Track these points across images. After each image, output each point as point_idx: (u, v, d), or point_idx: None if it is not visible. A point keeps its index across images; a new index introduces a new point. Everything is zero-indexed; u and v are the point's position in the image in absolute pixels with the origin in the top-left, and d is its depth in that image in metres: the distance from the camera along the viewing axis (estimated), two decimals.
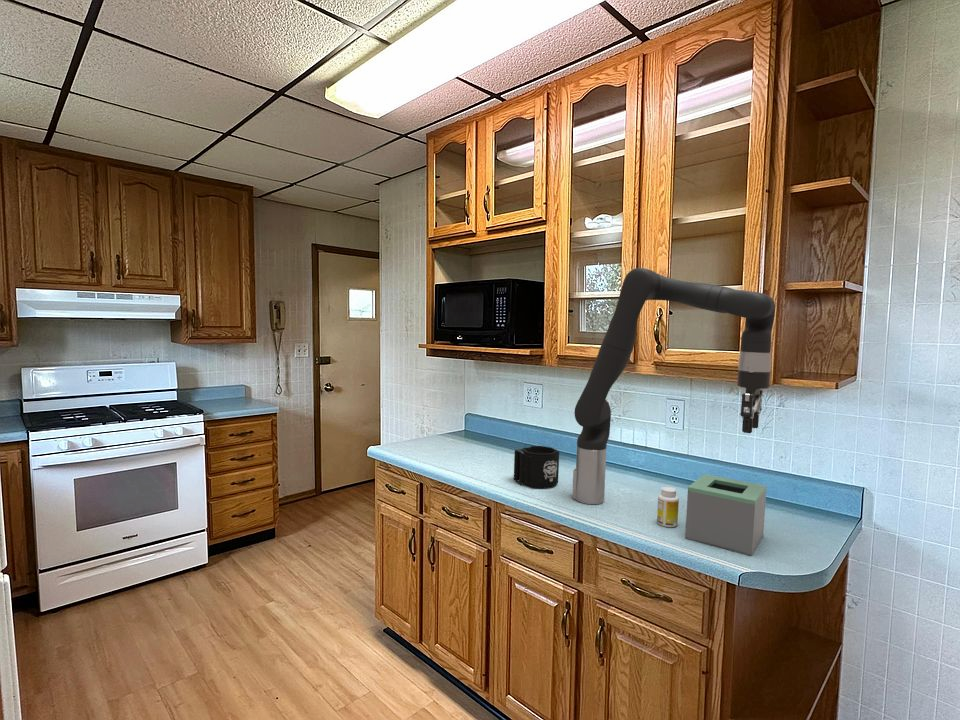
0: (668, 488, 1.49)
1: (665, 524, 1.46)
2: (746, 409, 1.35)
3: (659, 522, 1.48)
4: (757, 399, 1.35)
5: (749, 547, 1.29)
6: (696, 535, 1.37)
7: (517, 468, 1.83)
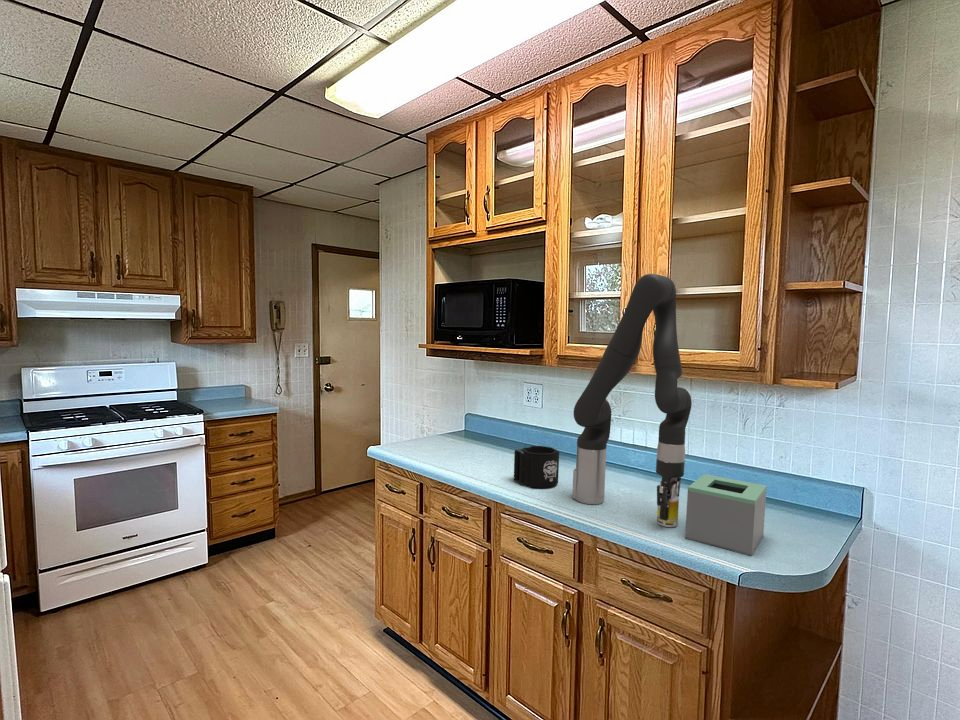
0: None
1: (665, 524, 1.46)
2: None
3: (659, 522, 1.48)
4: (672, 487, 1.45)
5: (749, 547, 1.29)
6: (696, 535, 1.37)
7: (517, 468, 1.83)
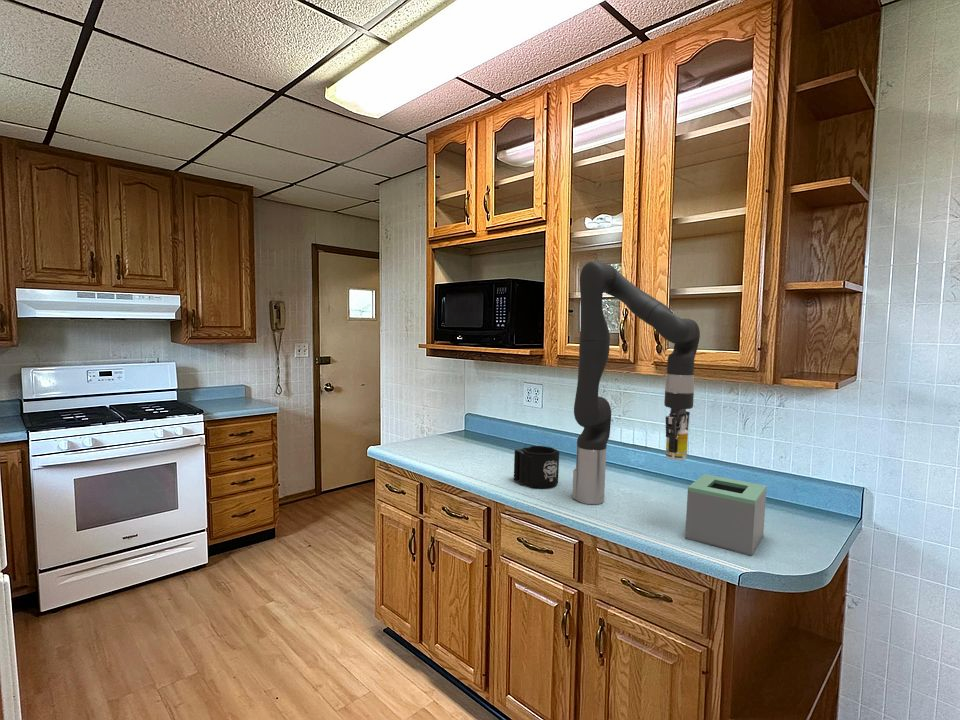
0: None
1: (674, 457, 1.44)
2: (672, 430, 1.44)
3: (668, 456, 1.45)
4: (681, 419, 1.43)
5: (749, 547, 1.29)
6: (696, 535, 1.37)
7: (517, 468, 1.83)
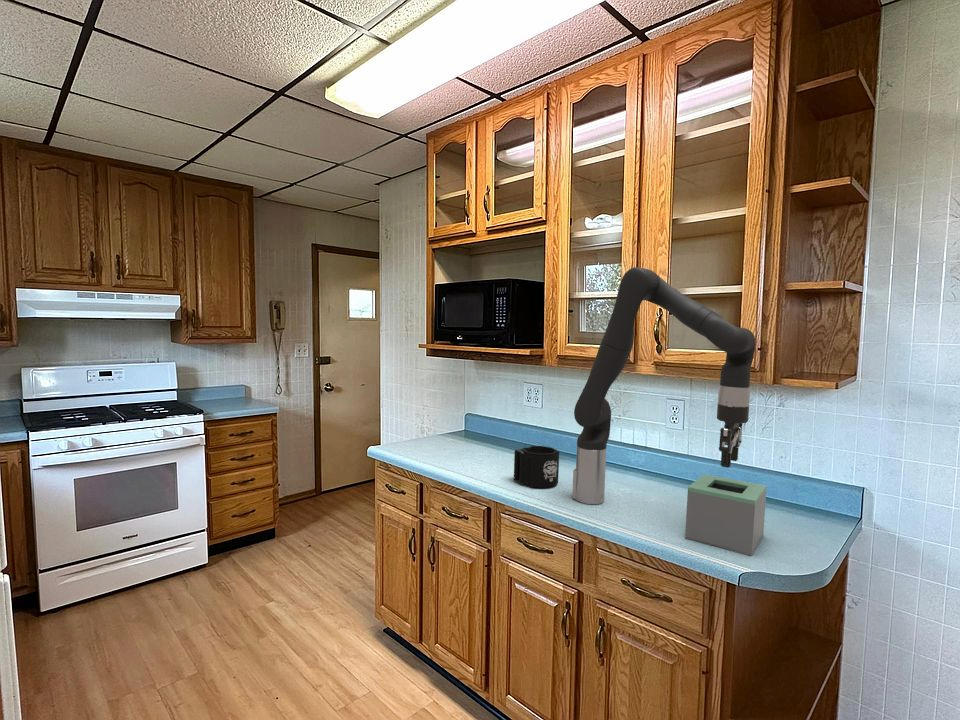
0: None
1: None
2: (725, 443, 1.36)
3: None
4: (736, 433, 1.36)
5: (749, 547, 1.29)
6: (696, 535, 1.37)
7: (517, 468, 1.83)
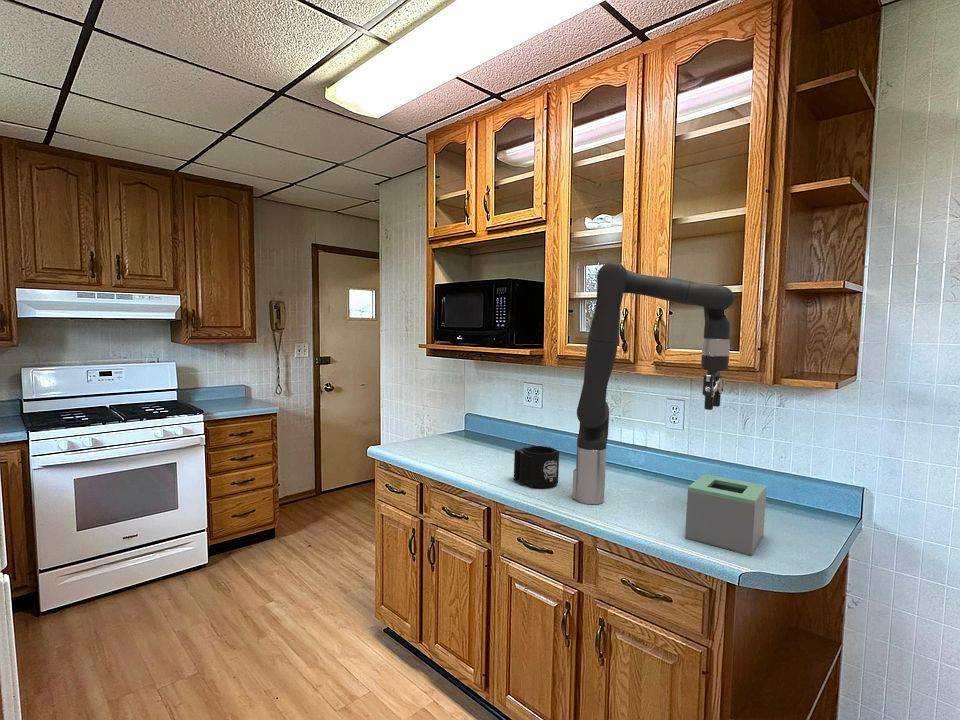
0: None
1: None
2: (708, 389, 1.54)
3: None
4: (717, 380, 1.54)
5: (749, 547, 1.29)
6: (696, 535, 1.37)
7: (517, 468, 1.83)
